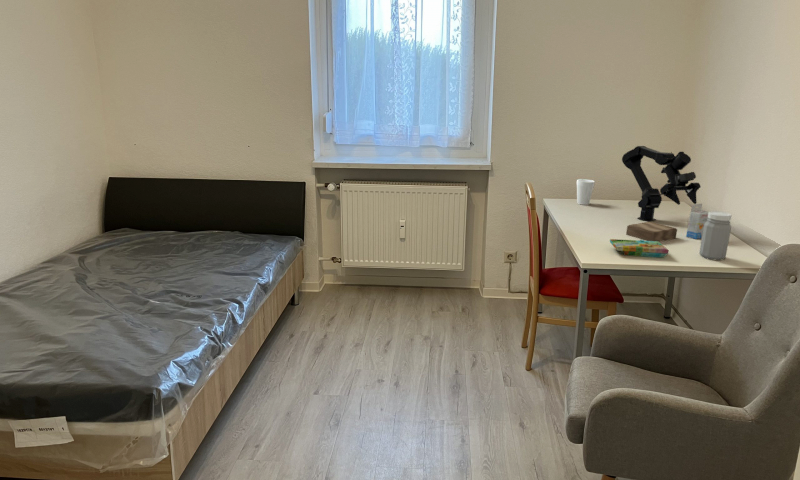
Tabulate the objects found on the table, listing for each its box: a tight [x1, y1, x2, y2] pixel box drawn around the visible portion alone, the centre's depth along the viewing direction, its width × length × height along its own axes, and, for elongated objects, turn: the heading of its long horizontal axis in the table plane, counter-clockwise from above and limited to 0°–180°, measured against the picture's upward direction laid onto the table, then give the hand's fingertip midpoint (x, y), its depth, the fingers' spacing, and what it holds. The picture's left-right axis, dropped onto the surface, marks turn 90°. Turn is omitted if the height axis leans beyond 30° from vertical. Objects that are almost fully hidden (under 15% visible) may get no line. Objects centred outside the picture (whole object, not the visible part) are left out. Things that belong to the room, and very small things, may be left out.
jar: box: [699, 211, 732, 261], centre depth 243 cm, size 10×10×18 cm
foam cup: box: [576, 178, 596, 206], centre depth 335 cm, size 10×9×13 cm
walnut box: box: [625, 221, 678, 242], centre depth 273 cm, size 16×14×5 cm
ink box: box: [685, 203, 710, 240], centre depth 273 cm, size 8×5×15 cm, turn 123°
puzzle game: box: [609, 238, 669, 258], centre depth 247 cm, size 12×5×20 cm
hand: (687, 203), depth 279 cm, fingers open, 9 cm apart
